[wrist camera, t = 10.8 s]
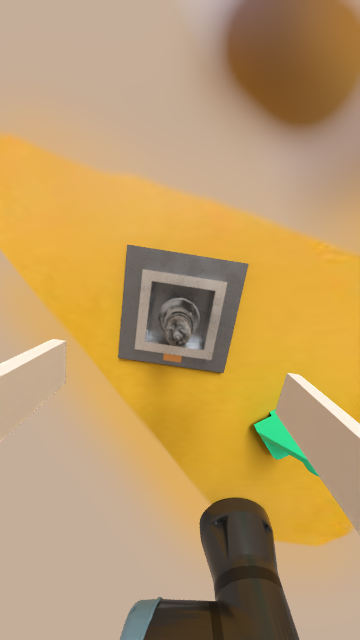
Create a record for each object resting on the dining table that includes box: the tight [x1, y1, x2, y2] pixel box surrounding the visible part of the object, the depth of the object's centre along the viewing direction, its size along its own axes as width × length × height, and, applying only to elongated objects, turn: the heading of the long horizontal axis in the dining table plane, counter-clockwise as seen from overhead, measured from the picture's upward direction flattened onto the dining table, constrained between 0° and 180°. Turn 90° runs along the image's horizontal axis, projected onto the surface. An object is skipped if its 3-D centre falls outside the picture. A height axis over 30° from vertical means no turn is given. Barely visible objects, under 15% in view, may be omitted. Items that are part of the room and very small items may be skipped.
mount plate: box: [118, 245, 248, 373], centre depth 28 cm, size 18×18×4 cm
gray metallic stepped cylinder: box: [158, 297, 200, 346], centre depth 23 cm, size 6×6×12 cm
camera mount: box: [254, 409, 319, 476], centre depth 30 cm, size 12×8×10 cm, turn 122°
